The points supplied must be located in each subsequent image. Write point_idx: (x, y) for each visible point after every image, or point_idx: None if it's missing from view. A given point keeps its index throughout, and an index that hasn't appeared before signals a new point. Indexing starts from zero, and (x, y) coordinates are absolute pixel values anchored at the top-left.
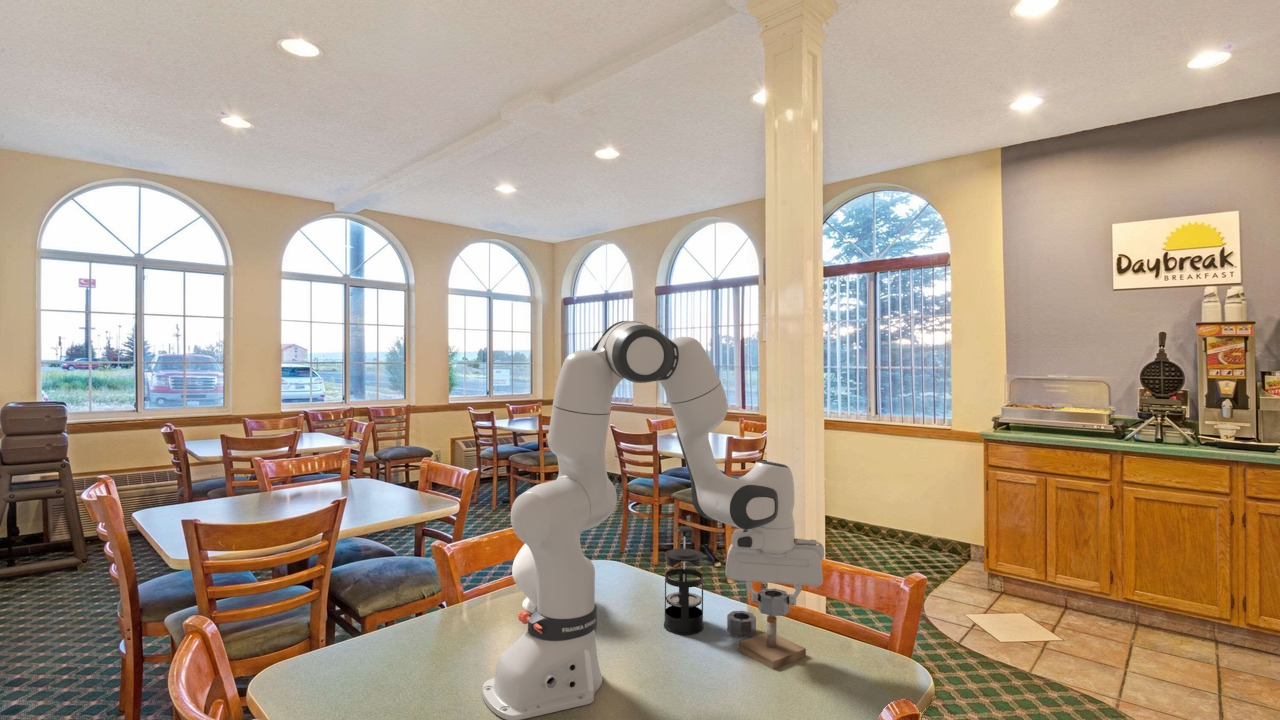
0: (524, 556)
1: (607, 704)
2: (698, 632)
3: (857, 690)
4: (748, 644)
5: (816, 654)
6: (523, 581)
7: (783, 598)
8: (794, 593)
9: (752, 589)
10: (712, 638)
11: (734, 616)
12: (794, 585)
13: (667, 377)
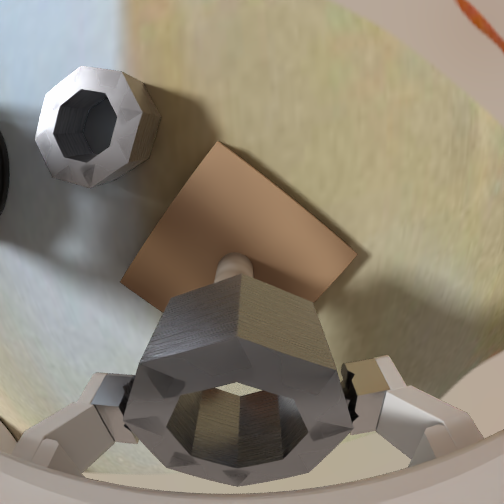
0: None
1: None
2: (5, 200)
3: (433, 367)
4: (155, 285)
5: (383, 224)
6: None
7: (308, 471)
8: (395, 428)
9: (87, 439)
10: (43, 220)
11: (61, 120)
12: (423, 437)
13: None
